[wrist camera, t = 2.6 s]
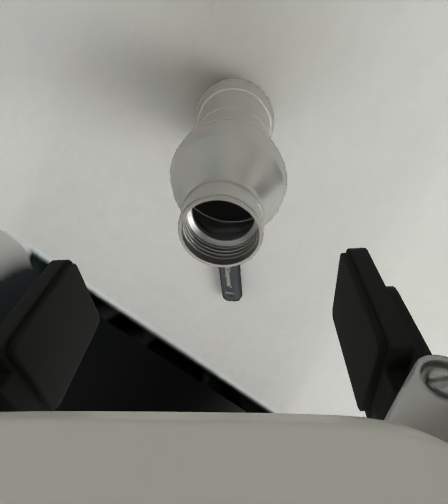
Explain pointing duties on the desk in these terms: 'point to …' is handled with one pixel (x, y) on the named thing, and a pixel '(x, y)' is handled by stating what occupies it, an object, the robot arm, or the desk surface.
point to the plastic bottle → (228, 175)
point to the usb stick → (231, 283)
